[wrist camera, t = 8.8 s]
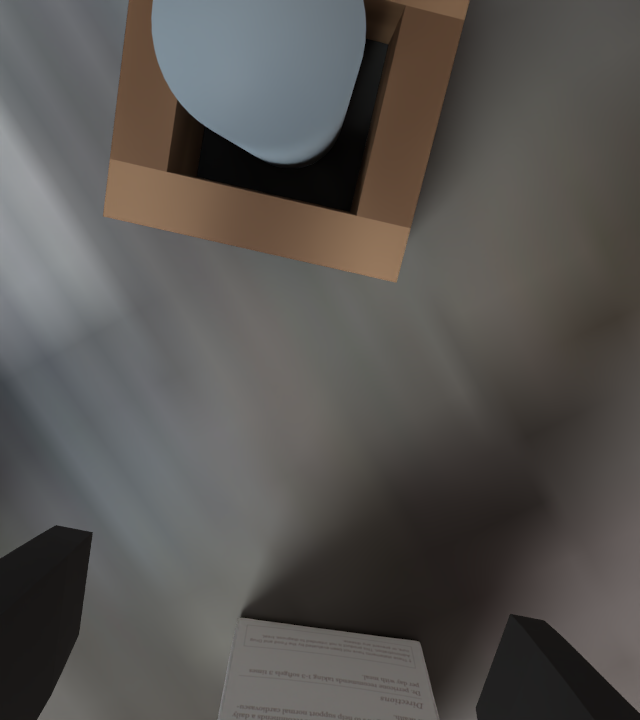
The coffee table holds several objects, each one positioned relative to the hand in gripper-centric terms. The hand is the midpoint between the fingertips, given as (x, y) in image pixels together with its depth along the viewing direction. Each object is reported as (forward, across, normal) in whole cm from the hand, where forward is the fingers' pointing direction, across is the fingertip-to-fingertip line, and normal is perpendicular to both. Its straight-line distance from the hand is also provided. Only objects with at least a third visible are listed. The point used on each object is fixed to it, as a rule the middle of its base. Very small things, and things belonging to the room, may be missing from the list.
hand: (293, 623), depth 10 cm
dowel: (+10, +2, -9) cm, 14 cm away
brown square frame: (+10, +2, -9) cm, 14 cm away
